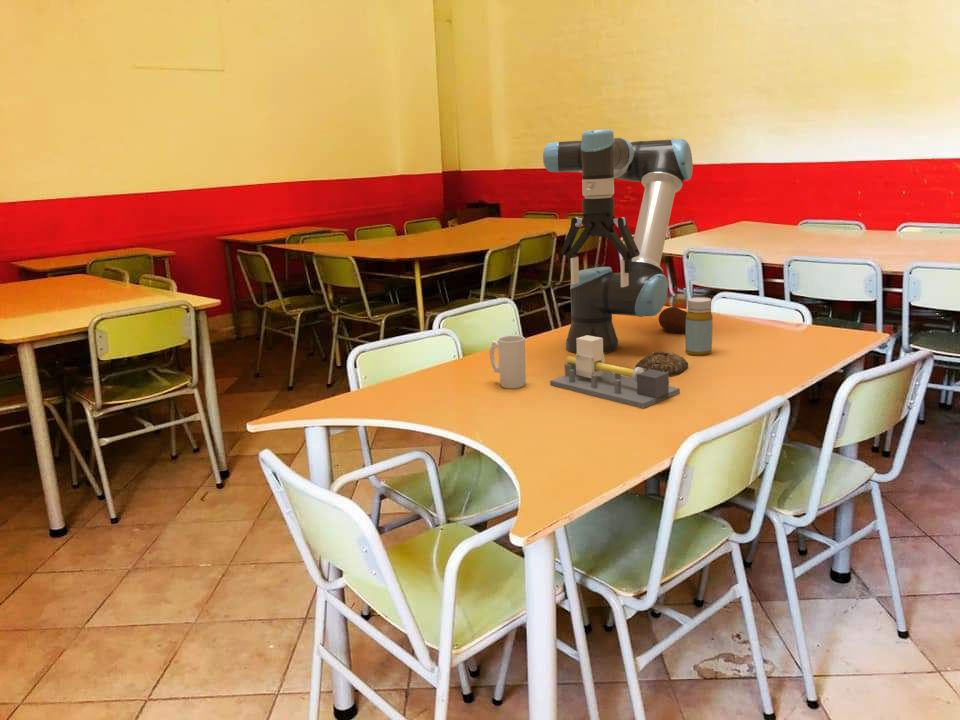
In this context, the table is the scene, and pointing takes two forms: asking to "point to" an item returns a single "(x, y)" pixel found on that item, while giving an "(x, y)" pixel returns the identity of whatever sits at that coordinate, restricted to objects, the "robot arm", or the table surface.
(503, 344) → the mug
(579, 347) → the sleeve
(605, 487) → the table surface
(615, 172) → the robot arm
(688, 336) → the bottle
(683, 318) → the potato
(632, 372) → the yellow rod slider
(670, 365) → the bread roll
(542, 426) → the table surface
